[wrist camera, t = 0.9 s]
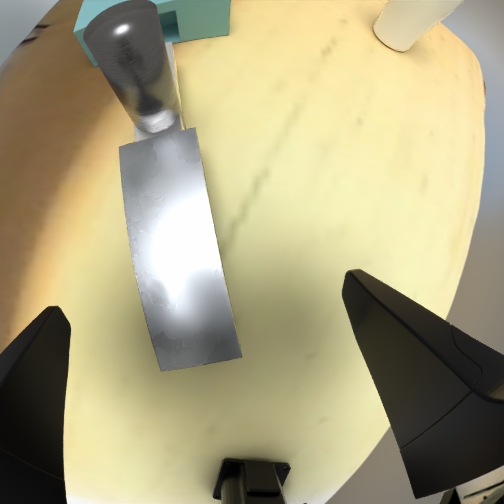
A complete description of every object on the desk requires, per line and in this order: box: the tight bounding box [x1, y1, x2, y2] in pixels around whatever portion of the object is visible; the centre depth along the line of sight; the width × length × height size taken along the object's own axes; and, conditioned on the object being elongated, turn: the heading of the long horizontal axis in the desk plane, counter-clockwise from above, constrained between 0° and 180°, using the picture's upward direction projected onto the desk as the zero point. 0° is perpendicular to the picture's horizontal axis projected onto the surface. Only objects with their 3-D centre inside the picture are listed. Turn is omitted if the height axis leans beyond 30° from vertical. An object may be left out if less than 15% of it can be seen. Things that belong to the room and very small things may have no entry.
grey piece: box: [83, 0, 186, 142], centre depth 13 cm, size 22×3×12 cm, turn 12°
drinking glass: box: [373, 0, 465, 51], centre depth 16 cm, size 7×7×15 cm
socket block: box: [73, 0, 231, 67], centre depth 17 cm, size 6×14×6 cm, turn 102°
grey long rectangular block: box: [119, 128, 242, 371], centre depth 18 cm, size 14×5×5 cm, turn 12°
